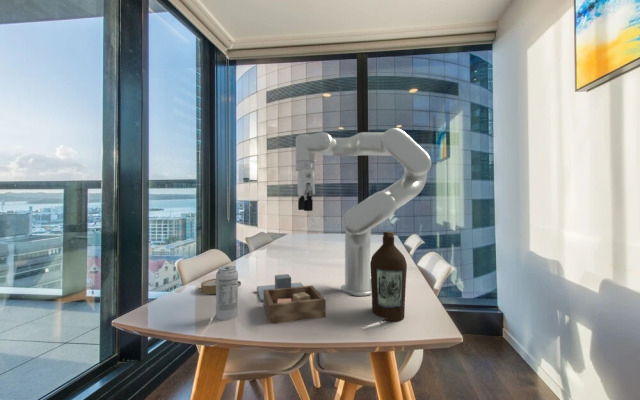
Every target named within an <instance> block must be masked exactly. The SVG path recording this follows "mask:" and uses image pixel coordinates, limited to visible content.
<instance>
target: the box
mask: <svg viewBox="0 0 640 400" xmlns="http://www.w3.org/2000/svg"><path fill="white" fill-rule="evenodd" d="M301 292H305V293H307V294H308V295H310V300H303V301H293V294H296V293H301ZM278 299H291V302H283V303H278ZM326 303H327V299H326V298H325V297H324V296H323V295H321V293H320V292H319V291H318V290H317V289H316V287H314V286H313V285H303V287H292V288H280V289H269V290H264V302H263V308H264V310H265V314H266V317H267V321H268V324H269V325H274V324H283V323H289V322H290V323H291V322H298V321H306V320H314V319H321V318H322V319H323V318H326V315H327V314H326V313H327V310H326V309H327V307H326Z"/></svg>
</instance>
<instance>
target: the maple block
mask: <svg viewBox="0 0 640 400" xmlns="http://www.w3.org/2000/svg"><path fill="white" fill-rule="evenodd" d="M303 300H310V295H308V294H307V293H305V292H301V293H296V294H293V301H303Z"/></svg>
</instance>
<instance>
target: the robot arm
mask: <svg viewBox="0 0 640 400" xmlns="http://www.w3.org/2000/svg"><path fill="white" fill-rule="evenodd" d="M316 152H317V153H320V154H321V155H323V156H327V157H350V156H351V157H357V156H377V157H378V156H384V157H385V156H387V157H388V156H389V157H393V158H394V159H395V160H396V161H397V162H398V163H399V164H400V165H401V166H403V170H404V173H403V175H402V177H401V178H399V179H398V180H397V181H395V182H394V183H392V184H391V185H390V186H388V187H386V188H384V189H382V190H381V191H380V190H379V191H376V192H374V193H373V194H372V195H370V196H368V197H367V198H365V199H364V200H362V201H361V202H358V204H356V205H354V206H353V207H351V208H349V209H348V210H347V211H346V212H345V213H344V214H343V216H342V227H343V229H344V231H345V235H344V237H345V239H344V243H345V244H344V284H342V285H341V286H340V291H341V292H342V293H344V294H346V295H349V296H356V297H359V296H360V297H363V296H364V297H365V296H369V295H372V288H371V268H370V263H371V236H372V235H371V233H372V231H371V230H372V228H375V227H376V226H378V225H380V224H381V223H383V222H384V221H386V220H388V219H389V218H391V217H392V216H393V215H394V213H395V212H396V210H398V209H399V208H401V207H403V206H404V205H406V204H407V203H408V202H410V201H411V200H413V199H414V198H415V197H417V196H418V195H419V194H420V193H421V192H422V191H423V190H424V188H425V185H426V182H427V177H428V172H429V171H430V170H431V167H432V159H431V156H430V155H429V153H428V152H427V151H426V150H425V149H424V148H422V147H421V146H420V145H419V144H418V143H417V142H416V141H415V140H414V139H413V138H412V137H411V136H410V135H409V134H407V133H406V132H405V131H404V130H402V129H401V128H398V127H393V128H392V127H391V128H389V129H387V130H385V131H384V132H383V131H382V132H379V131H378V132H371V131H370V132H369V131H367V132H366V131H363V132H358V133H356V134H354V135H352V136H349V137H332V135H330V134H329V133H327V132H326V131H325V132H324V131H323V132H321V131H320V132H317V133H312V134H309V133H308V134H305V133H303V134H298V135H297V136H296V137H295V171H296V172H297V184H296V185H297V195H298V197H297V200H298V201H297V202H298V203H297V205H298V206H297V207H298V208H297V209H298V211H305V212H312V211H313V210H314V209H313V207H314V206H313V205H314V204H313V201H314V200H313V196H315V194H316V186H315V182H316V181H315V171H316V161H315V160H316Z"/></svg>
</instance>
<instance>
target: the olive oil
mask: <svg viewBox="0 0 640 400" xmlns="http://www.w3.org/2000/svg"><path fill="white" fill-rule="evenodd" d="M382 235H383V236H382V244H381V246H380V247H379V248H378V249H377V250H376V251H375V252H374V253H373V255H372V256H371V258H370V278H371V288H372V294H371V312H372V313H373V314H374V315H375V316H377V317H379V318H383V319H382V321H383V322H389V321H390V322H393V323H394V321H395V322H400V321H403V320H404V318H405V308H406V304H405V303H406V291H407V290H406V288H407V271H408V270H407V269H408V268H407V267H408V264H407V261H406V260H407V259H406V257H405V256H404V254H403V253H402V252H401V251H400V250H399V249H398V248H397V246H396V245H395V236H394V235H395V233H394V231H382Z"/></svg>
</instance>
